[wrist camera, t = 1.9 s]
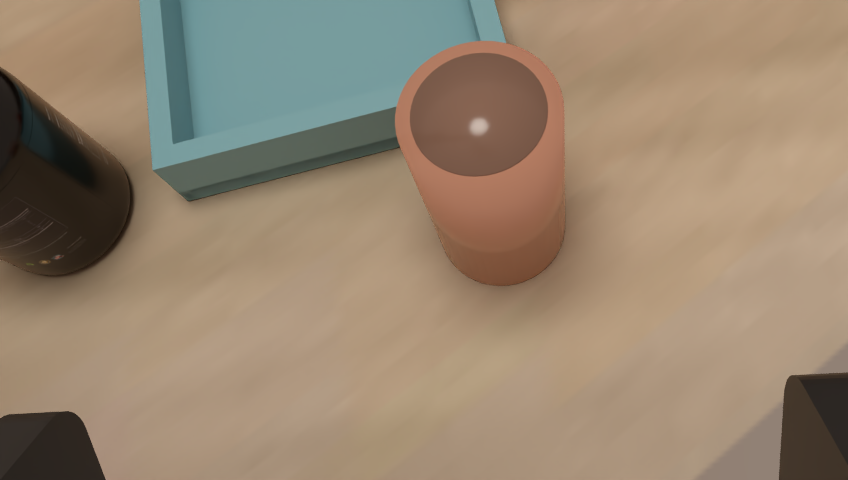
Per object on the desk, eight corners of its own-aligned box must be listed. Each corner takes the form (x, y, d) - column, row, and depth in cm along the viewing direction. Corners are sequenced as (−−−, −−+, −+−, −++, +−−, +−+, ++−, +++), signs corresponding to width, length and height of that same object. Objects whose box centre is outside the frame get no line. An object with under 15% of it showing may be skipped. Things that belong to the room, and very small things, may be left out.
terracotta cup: (454, 298, 34) (411, 209, 24) (429, 186, 36) (381, 63, 26) (579, 269, 33) (584, 165, 24) (547, 156, 35) (540, 21, 26)
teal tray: (188, 201, 37) (152, 170, 34) (166, -32, 43) (133, -78, 39) (519, 116, 36) (515, 75, 33) (455, -114, 41) (446, -169, 38)
